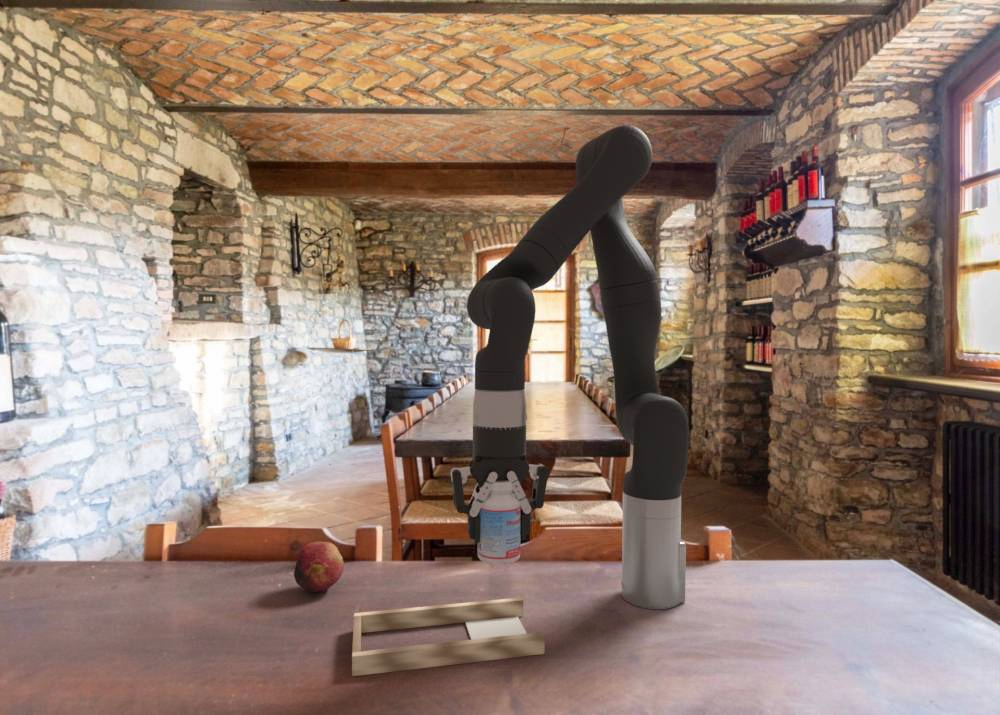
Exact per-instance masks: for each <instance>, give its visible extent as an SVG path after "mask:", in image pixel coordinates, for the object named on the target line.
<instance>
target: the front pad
mask: <svg viewBox="0 0 1000 715" xmlns="http://www.w3.org/2000/svg"><path fill="white" fill-rule="evenodd" d="M464 624H465V627H466V630H467V633H468V636H469V638H470V639H469V640H472V639H481V638H490V637H500V636H509V635H518V634H527V631H526V628H525V627H524V625H523V623H522V621H521V620H520V617H509V618H499V619H489V620H479V621H469V622H464Z"/></svg>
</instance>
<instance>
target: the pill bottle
mask: <svg viewBox="0 0 1000 715" xmlns="http://www.w3.org/2000/svg"><path fill="white" fill-rule="evenodd" d="M478 516H479V517H480V541H479V543H476V545H477V548H476V549H477V552H476V553H477V558H478V559H479V560H480V561H481V562H483V563H486V564H492V565H508V564H512V563H515V562H516V561H518V560H519V559H520V556H521V533H520V532H521V506H520V501H518V499H517V497H516V496H515V494H514V492H513V484H512V483H511V482H509V481H495V483H493V484H491V490H490V492H489V494H488V496H487V499H486V501H485V502H484V503H482V506H481V509H480V511H479V513H478Z"/></svg>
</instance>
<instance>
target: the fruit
mask: <svg viewBox="0 0 1000 715" xmlns="http://www.w3.org/2000/svg"><path fill="white" fill-rule="evenodd" d="M344 567H345V563H344V558H343V556H342V554H341V553H340V551H339V549H338V547H337V546H336V545H335V544H333V543H332V542H328V541H315V542H311V543H308V544H306V545H305V546H304V547H303V548H301V550H300V551H299V553H298V556H297V559H296V563H295V568H294V572H293V578H294V580H295V582H296V584H297V585H298V586H299V587H300V588H302V589H303V590H305V591H306V592H312V593H321V592H322V593H323V592H325V591H327V590H329V589H330V588H331V587H332V586H334V585H335V584H336V583H337V582H338V581H339V580H340V579H341V577H342V575H343V572H344Z"/></svg>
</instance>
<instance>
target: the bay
mask: <svg viewBox="0 0 1000 715" xmlns="http://www.w3.org/2000/svg"><path fill="white" fill-rule="evenodd" d="M509 617H518V618H521V617H524V599H523V597H522V596H521V597H512V598H501V599H491V600H489V599H488V600H481V601H479V600H478V601H471V602H469V601H467V602H460V603H447V604H437V605H436V604H435V605H428V606H415V607H406V608H405V607H404V608H396V609H395V608H394V609H384V610H372V611H363V612H354V613H353V627H352V629H353V632H352V650H351V652H352V653H351V663H352V664H351V676H352V677H356V676H367V675H374V674H375V675H376V674H384V673H391V672H400V671H409V670H420V669H427V668H436V667H444V666H450V665H451V666H452V665H461V664H469V663H477V662H487V661H495V660H503V659H511V658H520V657H527V656H528V657H529V656H536V655H537V656H538V655H544V654H545V644H546V643H545V636H546V635H545V634H544V632H543V631H539V632H529V633H527V632H526V633H527V634H518V635H509V636H500V637H490V638H481V639H472V640H471V639H464V640H454V641H447V642H446V641H444V642H437V643H429V644H418V645H408V646H400V647H392V648H390V647H389V648H382V649H381V648H380V649H379V648H378V649H372V650H371V649H370V650H364V651H362V633H364V634H365V633H373V632H375V633H376V632H382V631H383V632H384V631H393V630H401V629H411V628H422V627H434V626H441V625H442V626H443V625H451V624H461V623H465V622H469V621H479V620H489V619H499V618H509Z"/></svg>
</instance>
